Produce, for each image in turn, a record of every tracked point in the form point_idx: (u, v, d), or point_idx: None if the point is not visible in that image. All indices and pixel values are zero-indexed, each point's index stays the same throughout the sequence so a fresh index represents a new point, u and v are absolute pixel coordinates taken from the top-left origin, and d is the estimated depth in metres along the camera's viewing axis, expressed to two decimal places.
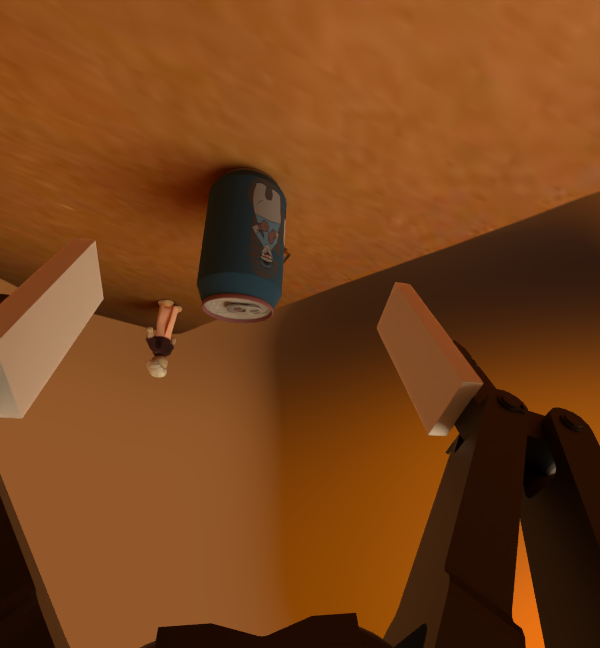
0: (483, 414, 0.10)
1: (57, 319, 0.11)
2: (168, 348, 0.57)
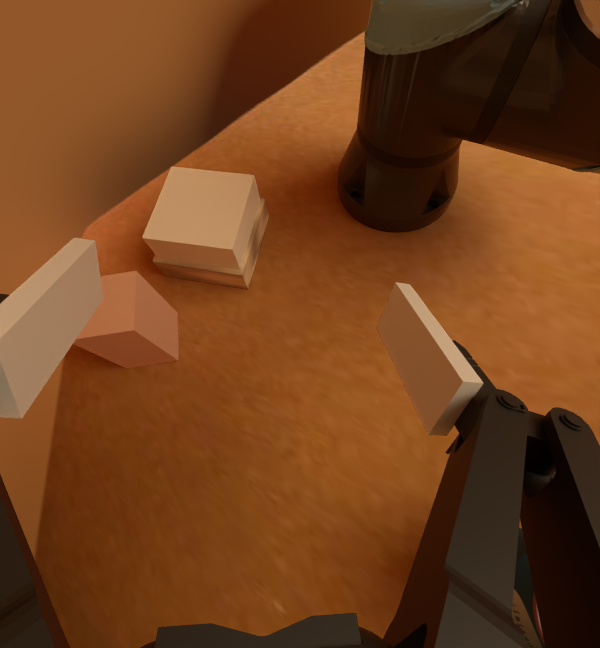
0: (483, 414, 0.10)
1: (57, 319, 0.11)
2: None
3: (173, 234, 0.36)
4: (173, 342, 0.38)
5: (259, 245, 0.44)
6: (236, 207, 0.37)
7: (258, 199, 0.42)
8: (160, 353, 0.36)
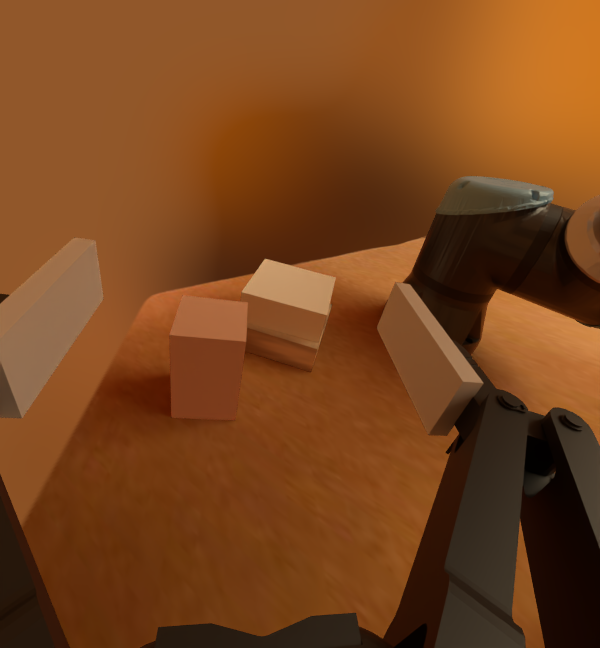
0: (483, 414, 0.10)
1: (57, 319, 0.11)
2: None
3: (271, 295, 0.39)
4: None
5: None
6: (324, 291, 0.43)
7: None
8: (231, 397, 0.32)
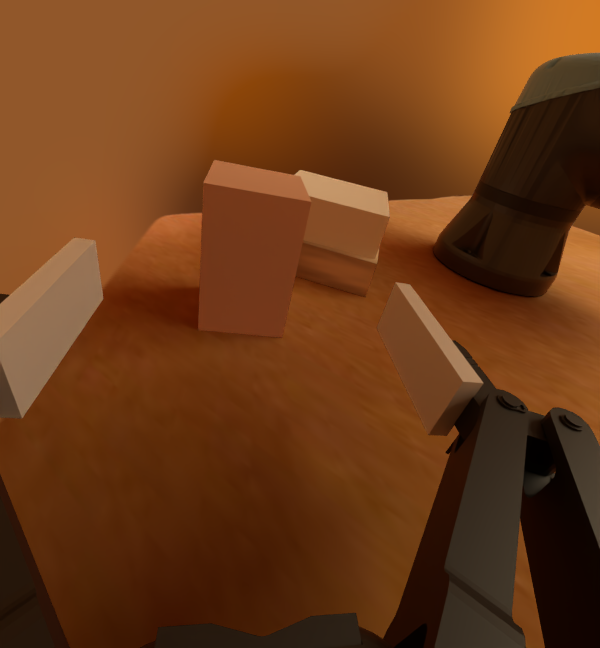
0: (483, 414, 0.10)
1: (57, 319, 0.11)
2: None
3: (316, 195, 0.31)
4: None
5: None
6: (379, 200, 0.34)
7: None
8: (281, 299, 0.23)
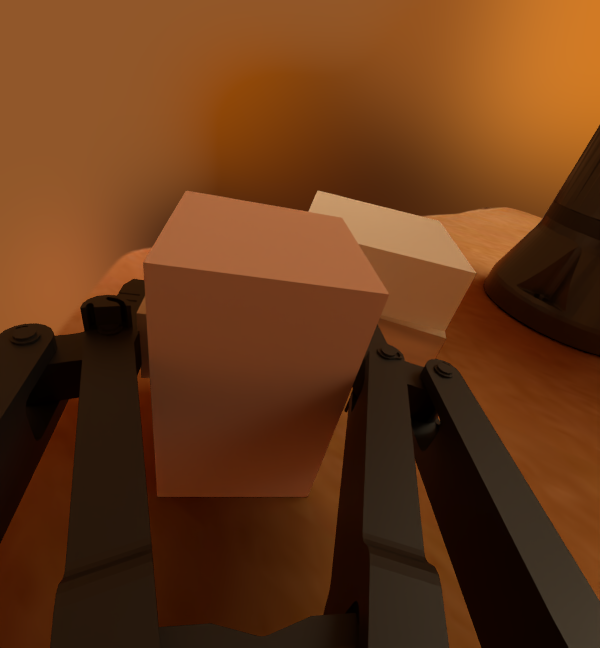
0: (368, 371, 0.11)
1: None
2: None
3: (357, 238, 0.20)
4: None
5: None
6: (440, 237, 0.23)
7: None
8: (309, 449, 0.13)
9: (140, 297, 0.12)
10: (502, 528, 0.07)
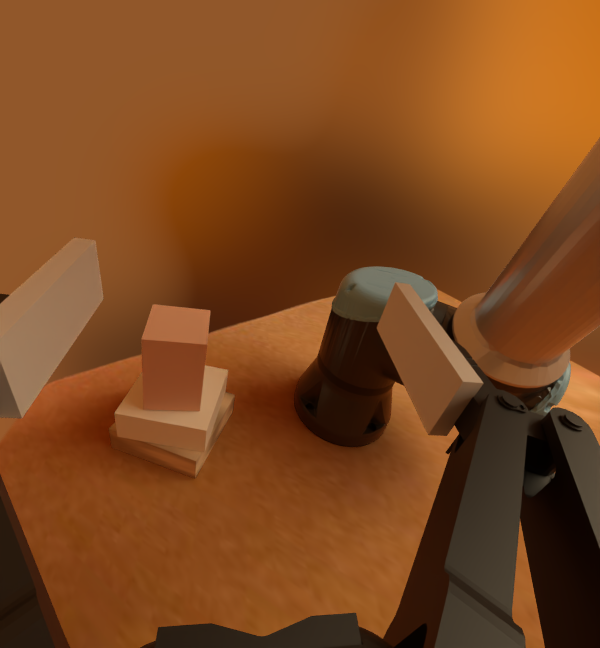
0: (483, 414, 0.10)
1: (57, 319, 0.11)
2: None
3: (148, 412, 0.38)
4: None
5: (217, 435, 0.45)
6: (211, 393, 0.42)
7: (225, 390, 0.47)
8: (195, 391, 0.37)
9: None
10: None
